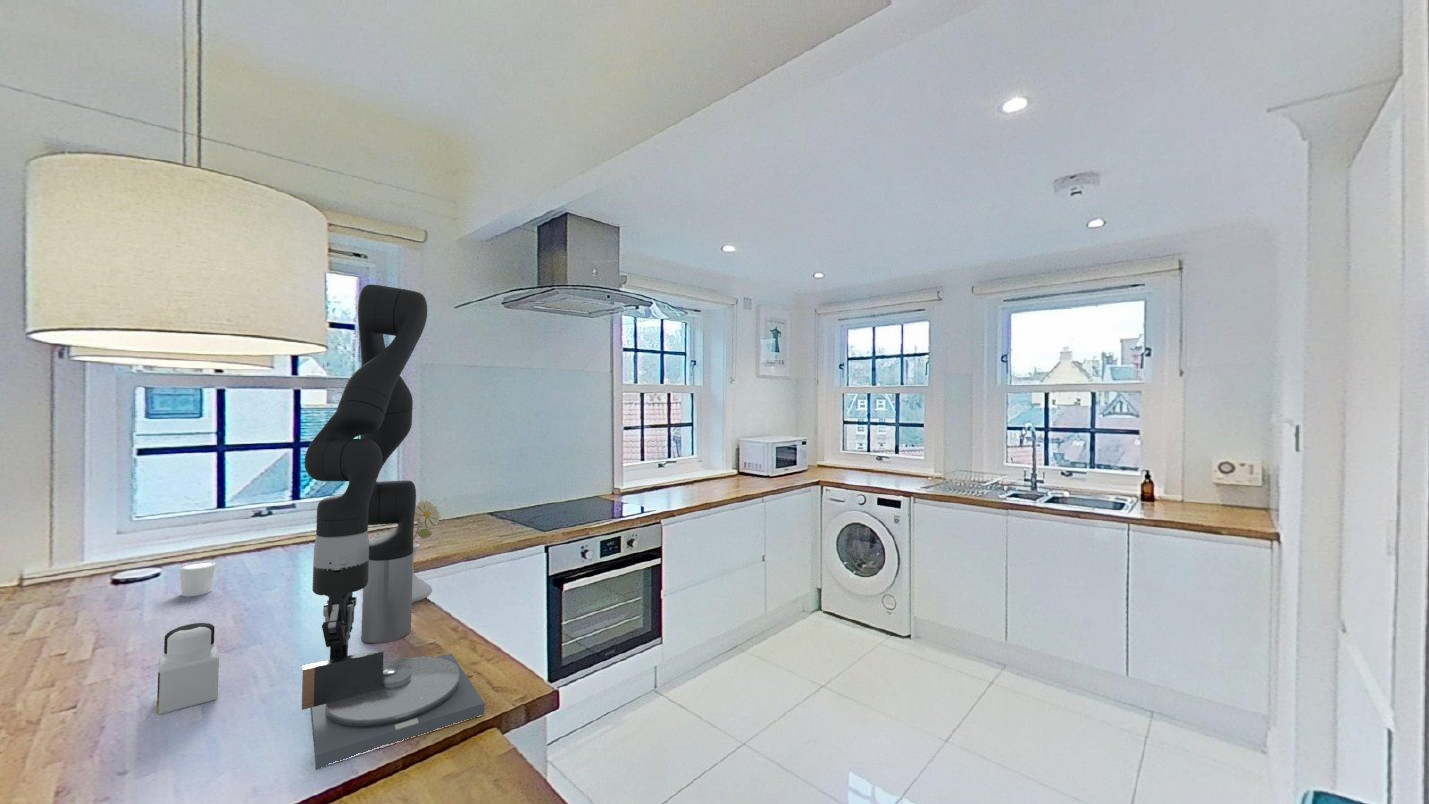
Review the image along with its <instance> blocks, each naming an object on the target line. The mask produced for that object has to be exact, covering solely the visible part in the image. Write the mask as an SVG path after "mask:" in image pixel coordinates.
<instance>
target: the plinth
mask: <svg viewBox="0 0 1429 804" xmlns="http://www.w3.org/2000/svg"><path fill="white" fill-rule="evenodd" d="M435 657H436V658H442V659H446V660H449V661H451V662H453V663H454V664H456V666H457V667H458V669H459V684H458V687H457V689H456V690H455V692H454V693H453V694H452V695H451V696H450V697H449V698H448V699H446V700H445V701H444V702H442V703H441V704H439V705H437V706H436V707H434V708H432V709H430V710H428V711H426V712H423V713H421V714H418V715H416V716H413V717H410V718H407V719H403V720H400V721H396V722H391V723H386V724H380V725H371V726H350V725H344V724H340V723H337V722H334V721H332V720H331V719H329V718H328V716H327V715H326V713H325V704H323V705H319V706H316V707H312V708H310V717H311V718H310V719H311V728H312V730H313V731H312V740H313V742H314V743H313V752H314V753H315V754H314V764H315V765H316V766H315V770H319V769H322V768H321V767H323V768H325V767H324V766H326V765H328V764H329V763H333V762H335V761H340V760H343V759H346V758H349V757H351V756H354V755H356V754H358V753H363V752H366V751H368V750H372V749H374V748H377V747H380V746H382V745H386V744H391V743H395V742H397V741H402V740H403V739H404V740H405V739H407V738H411V737H413V736H418V735H421V734H424V733H427V732H430V731H433V730H435V729H437V728H442V727H445V726H448V725H451V724H453V723H458V722H461V721H464V720H467V719H471V718H474V717H477V716H479V715H483V714H484V715H485V702H484V700H483V698H482V697H481V696H480V694H479V692H478V691H477V690H476V688H475V686H474V685H473V683H472V682H471V680H470V679H469V677H468V676H467V674H466V673H465V671H464V670H463V668H462V666H460V664H459V662H458V660H457V659H456V658H455V656H454V655H453V653H451V652H450V653H446V654H443V655H442V654H441V655H439V656H435ZM326 767H327V766H326ZM318 768H319V769H318Z"/></svg>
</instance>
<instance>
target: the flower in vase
mask: <svg viewBox="0 0 1429 804" xmlns="http://www.w3.org/2000/svg"><path fill="white" fill-rule="evenodd" d="M440 518H441V515H440V512H439V511H438V509H437V506H434V505H433V503H432V502H431V501H428V500H425V501H423V500H420V501H419V502H417V504H416V506H415V516H414V522H416V524H417V525H418V526H417V528H416V532H415V533H414V534H413V541H414V540H415V539H416V536H417V535H418V536H419V537H420V538H421V539H427V538H429V537H430V536H432V535H433V532H432V531H430V530H433V529H434V528H435V526H438V524H440V523H441V522H440ZM419 528H421V529H419ZM420 545H421V544H419V543H414V542H413V562H414V560H415V559H414V558H415V555H416V552H417V551H418V548H419V547H420ZM432 593H433V588H432V586H431V585H430V584H429V583H427V582H426V581H424V579H421V578H419V577H418V576H417V575H415V572H414V571H413V579H412V603H416V602H419V601H421V600H424V599H426V598H428V597H429V596H431V594H432Z"/></svg>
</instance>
